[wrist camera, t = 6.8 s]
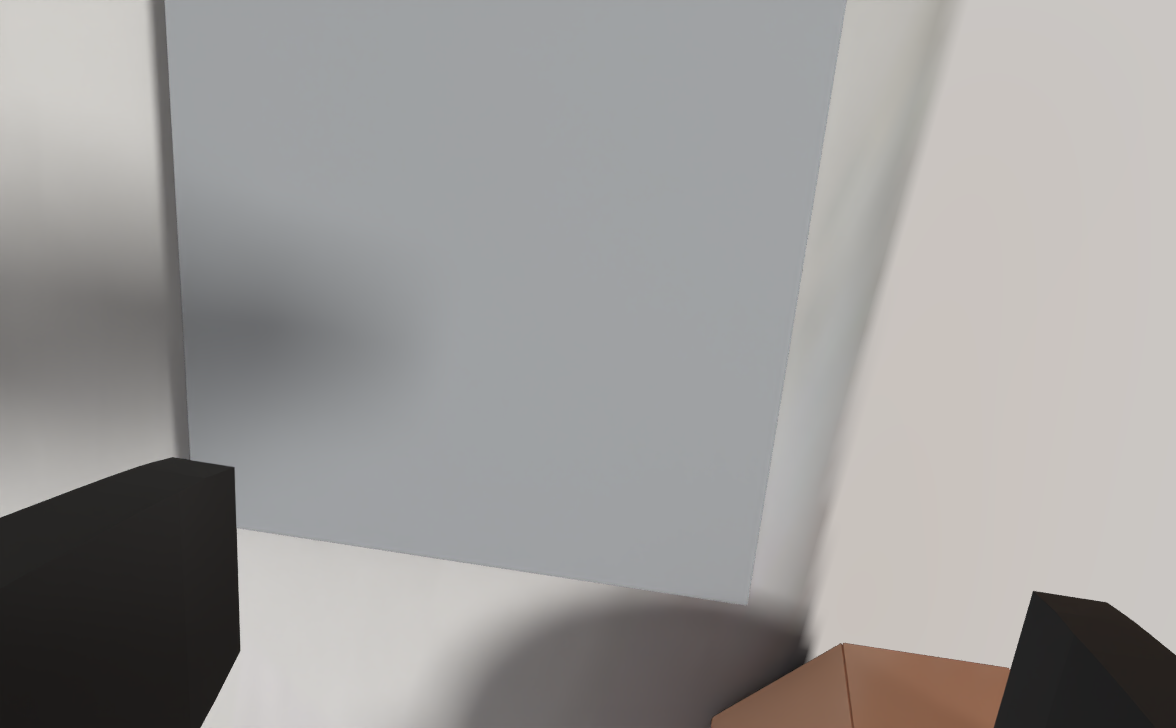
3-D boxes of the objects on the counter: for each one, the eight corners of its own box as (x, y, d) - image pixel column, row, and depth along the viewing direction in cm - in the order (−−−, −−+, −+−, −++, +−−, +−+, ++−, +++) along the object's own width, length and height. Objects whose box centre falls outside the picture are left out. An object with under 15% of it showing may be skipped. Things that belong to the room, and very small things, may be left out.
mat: (747, 591, 21) (746, 605, 20) (205, 509, 22) (193, 521, 22) (845, -9, 17) (848, -8, 16) (175, -72, 18) (160, -73, 17)
